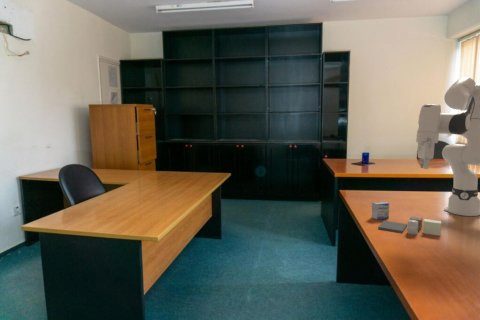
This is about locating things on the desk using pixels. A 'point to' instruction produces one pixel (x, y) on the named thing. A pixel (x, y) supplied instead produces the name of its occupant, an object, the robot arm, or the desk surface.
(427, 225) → the sage brick
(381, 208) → the medicine box
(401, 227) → the charcoal pad
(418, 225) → the walnut cube
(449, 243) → the desk surface
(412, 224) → the grey plastic egg
